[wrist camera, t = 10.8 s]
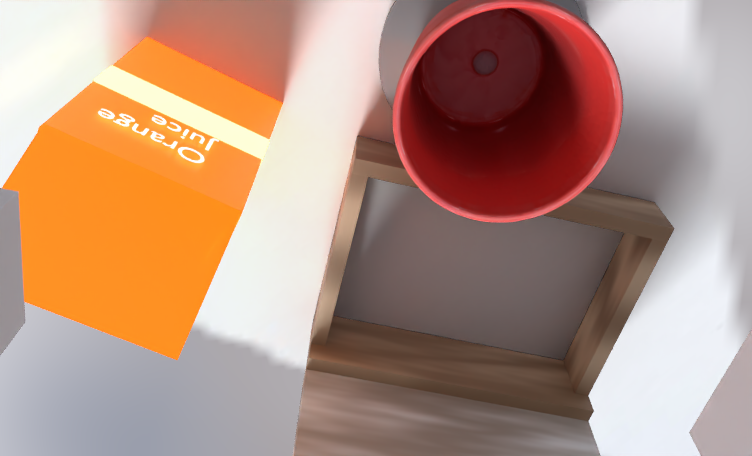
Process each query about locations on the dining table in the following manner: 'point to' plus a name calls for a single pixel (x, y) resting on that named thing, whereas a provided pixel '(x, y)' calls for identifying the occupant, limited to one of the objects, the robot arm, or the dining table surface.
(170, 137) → the orange juice
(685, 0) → the dining table surface
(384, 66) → the slate saucer
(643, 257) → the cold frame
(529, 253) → the dining table surface
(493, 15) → the flower pot
